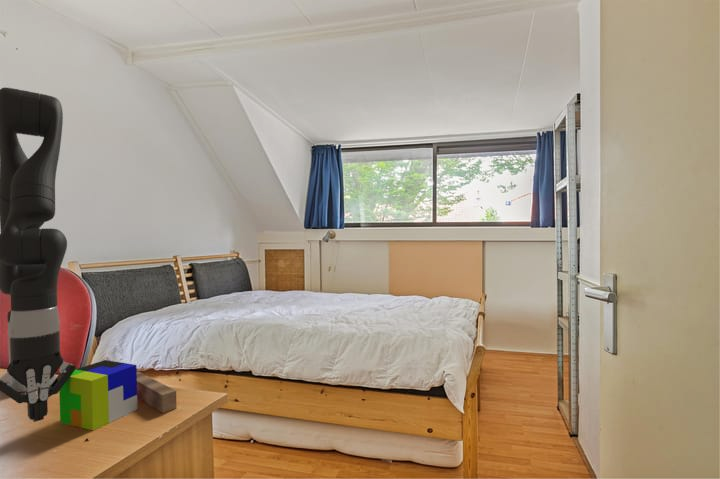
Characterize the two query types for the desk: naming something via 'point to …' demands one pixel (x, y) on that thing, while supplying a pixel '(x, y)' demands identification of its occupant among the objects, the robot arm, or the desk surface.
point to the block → (155, 393)
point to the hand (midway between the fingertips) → (37, 419)
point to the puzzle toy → (98, 394)
